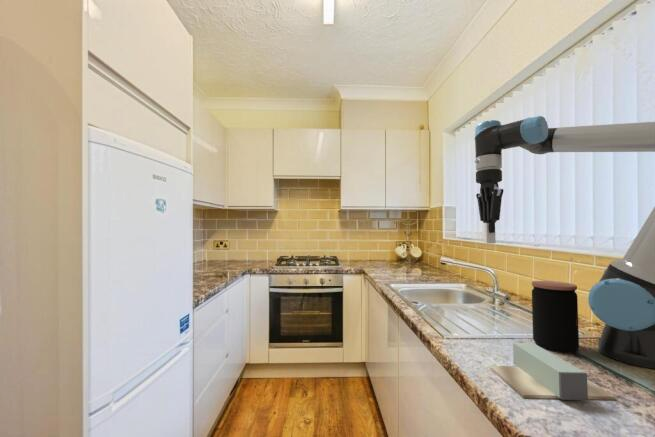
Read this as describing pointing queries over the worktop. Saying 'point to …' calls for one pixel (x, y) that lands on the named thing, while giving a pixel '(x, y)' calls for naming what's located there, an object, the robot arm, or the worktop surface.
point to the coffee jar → (555, 316)
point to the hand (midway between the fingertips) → (490, 243)
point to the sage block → (551, 371)
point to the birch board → (534, 389)
